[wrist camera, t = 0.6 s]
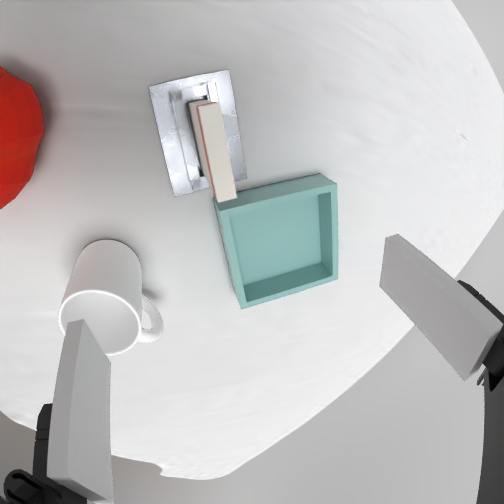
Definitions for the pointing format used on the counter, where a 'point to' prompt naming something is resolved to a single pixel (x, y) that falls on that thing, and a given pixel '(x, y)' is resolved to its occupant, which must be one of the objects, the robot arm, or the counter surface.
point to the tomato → (17, 134)
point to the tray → (280, 238)
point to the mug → (109, 297)
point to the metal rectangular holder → (180, 130)
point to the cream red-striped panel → (212, 147)
